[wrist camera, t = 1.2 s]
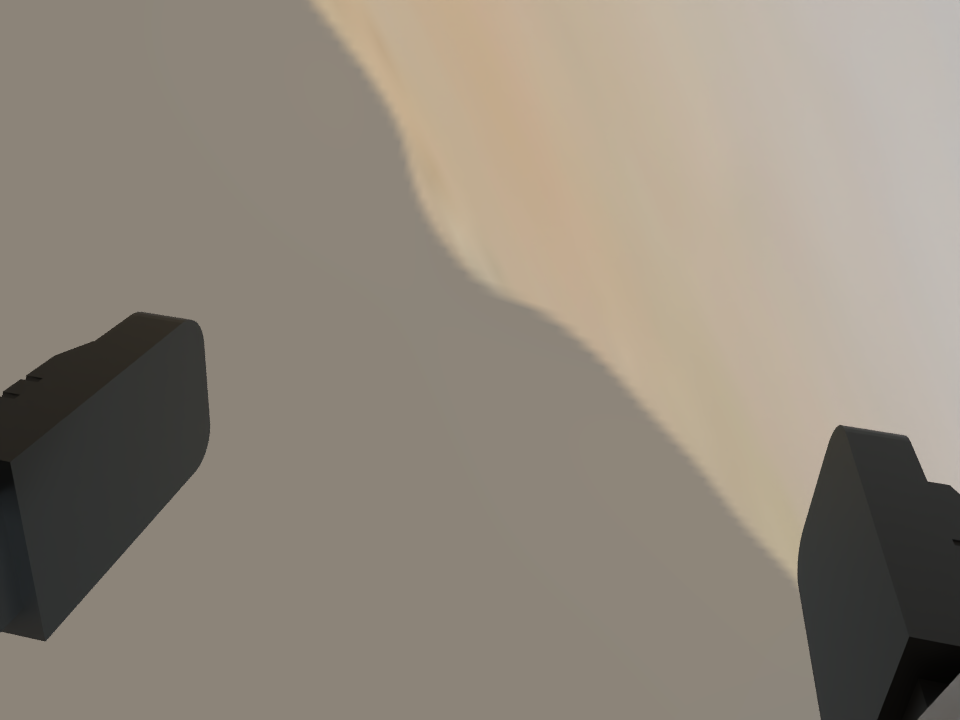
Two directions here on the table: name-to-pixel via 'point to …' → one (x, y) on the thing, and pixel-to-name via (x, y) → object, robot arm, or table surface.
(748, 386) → the table surface
